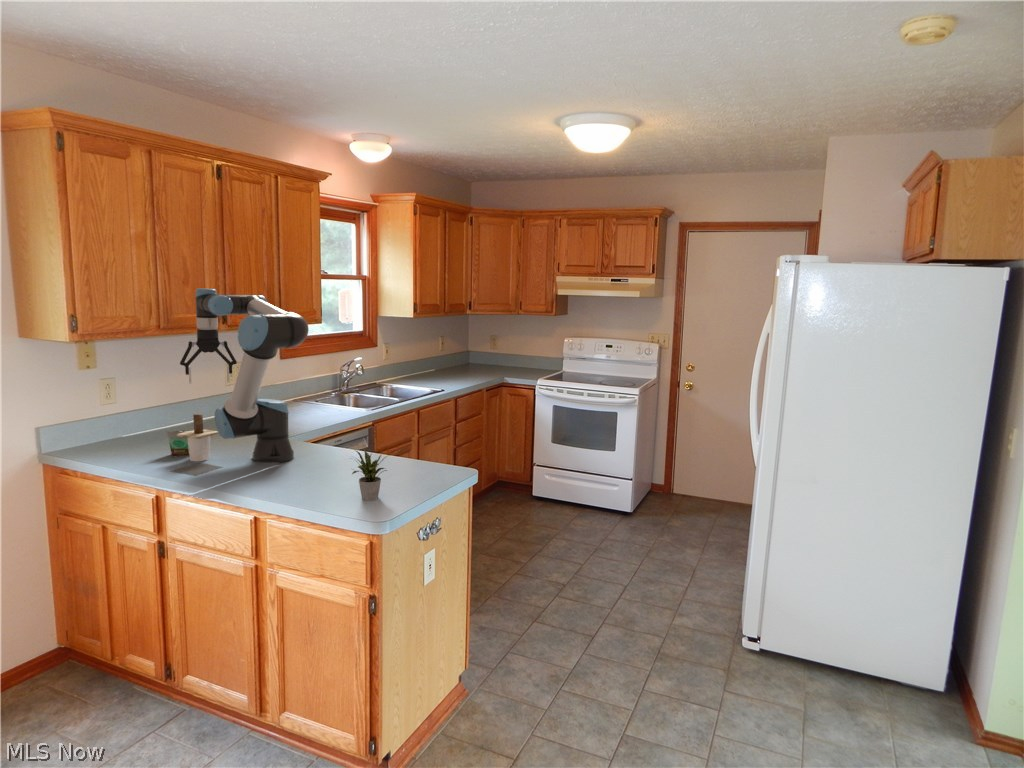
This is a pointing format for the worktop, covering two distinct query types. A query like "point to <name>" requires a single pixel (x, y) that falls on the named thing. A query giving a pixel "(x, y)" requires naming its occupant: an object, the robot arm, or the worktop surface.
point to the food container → (178, 443)
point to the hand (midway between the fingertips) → (209, 382)
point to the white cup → (199, 449)
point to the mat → (196, 469)
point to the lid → (198, 429)
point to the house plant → (369, 477)
